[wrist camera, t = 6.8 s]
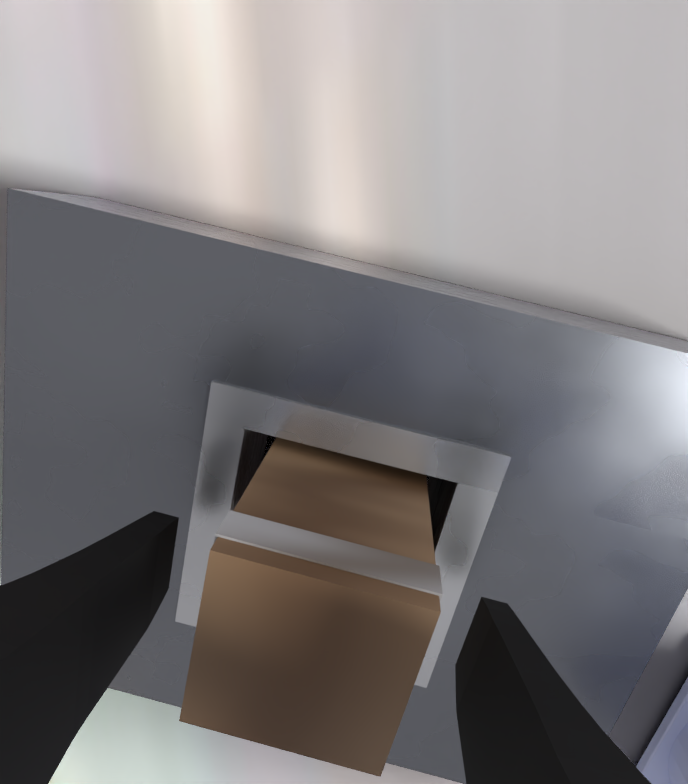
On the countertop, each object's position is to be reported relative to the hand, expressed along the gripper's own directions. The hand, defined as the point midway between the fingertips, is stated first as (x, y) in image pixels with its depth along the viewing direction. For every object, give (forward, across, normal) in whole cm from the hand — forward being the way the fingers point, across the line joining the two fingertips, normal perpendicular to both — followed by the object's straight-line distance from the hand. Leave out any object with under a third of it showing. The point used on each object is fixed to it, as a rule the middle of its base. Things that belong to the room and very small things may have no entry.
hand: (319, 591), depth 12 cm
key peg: (+5, 0, 0) cm, 5 cm away
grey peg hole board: (+5, 0, 0) cm, 5 cm away
